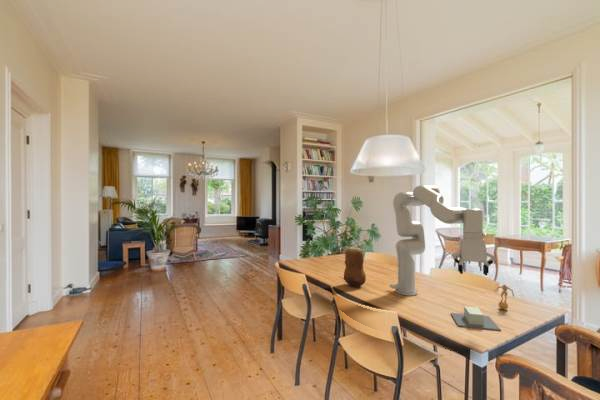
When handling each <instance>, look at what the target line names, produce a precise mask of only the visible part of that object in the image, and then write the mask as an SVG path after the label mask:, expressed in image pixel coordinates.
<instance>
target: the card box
mask: <svg viewBox="0 0 600 400" xmlns="http://www.w3.org/2000/svg"><path fill="white" fill-rule="evenodd" d="M463 314H464V316H465V318H466V319H467V321H468V322H469V324H475V325H484V316H485V315H484V313H483V312H482V311H481V310H480V308H479V307H477V306H467V305H464V307H463Z"/></svg>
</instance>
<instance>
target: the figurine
mask: <svg viewBox="0 0 600 400" xmlns="http://www.w3.org/2000/svg"><path fill="white" fill-rule="evenodd" d="M499 289H502V290H501V293H500V297H501V300H500V301H499V302H498V308H499V309H501V310H508V308H509V304H508V302H507V296H508V292H507V291H508V290H509V291H511V293H512V297H515V294H514V290H513V289H511V287H509V286H507V285H506V284H503V285H502V286H498V287H497V288H496V289H495V291H494V293H496V292H497V291H498V290H499ZM503 296H504V297H503ZM504 299H505V300H504Z"/></svg>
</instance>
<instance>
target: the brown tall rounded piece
mask: <svg viewBox="0 0 600 400" xmlns="http://www.w3.org/2000/svg"><path fill="white" fill-rule="evenodd" d="M344 256H345V257H344V259H345V260H344V265H345V268H344V271H343V280H344V281H345V283H346V284H347V285H349V286H353V287H354V288H359V287H360V286H363V285H364V284H365V283H366V280H367V278H366V277H367V276H366V271H365V270H364V260H365V259H364V252H363V249H362V248H360V247H354V246H350V247H348V248H346V249H345V255H344Z"/></svg>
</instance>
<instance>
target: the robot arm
mask: <svg viewBox="0 0 600 400" xmlns="http://www.w3.org/2000/svg"><path fill="white" fill-rule="evenodd" d="M393 197H394V198H393V201H392V204H393V210H394V213H395V222H396V223H395V224H396V225H395V226H396V230H397V231H396V232H397V233H396V234H397V235H398V236H399V237H402V238H405V239H400V240H398V241H397V242H396V244H395V251H396V257H397V282H396V283H395V284H392V283H390V284H389V287H390V288H392V289H395V293H397V294H398V295H402V296H417V295H418V294H419V292H418V290H417V289H416V266H415V263H416V262H415V260H414V258H413V256H415V255H422V254H423V253H424V252H425V250H426V241H425V240H426V239H425V230H424V226H423V223H421V222H420V221H417V220H412V217H411V216H412V215H411V213H410V210H409V208H407V207H421V206H423V205H425V206H427V207H428V208H429V210H430V213H431V214H432V216H433V217H434V218H436V219H437V220H438V221H441V223H444V224H448V225H454V224H459V225H460V224H462V235H463V237H461V238H460V242H459V251H456V252H454V253H450V254H451V255H450V256H451V257H452V259H453V261H455V262H456V263H457V271H458V272H459V274H461V275H462V274H463V273H464V271H463V269H464V266H463V264H464V263H465V262H475V263H483V265H482V272H483V275H485V276H488V274H489V267H490V266H491V265H492V264H493V263H494V261H495V260H496V256H495V255H494V254H491V253H489V252H487V246H486V241H485V240H486V239H484V238H485V237H487V236H488V235H487V233H484V231H483V230H484V228H483V227H484V224H483V223H484V222H483V221H484V219H483V218H484V213H483V210H482V209H481V208H468V207H467V208H466V207H447V206H446V205H443V204H444V201H445V199H444V196H443V195H442V194H441V193H440V189H439V188H438V187H437V186H435V185H429V184H427V185H425V184H424V185H423V184H422V185H417V186H416V187H414V188H413V189H412V191H402V192H401V191H400V192H398V193H396V195H394V196H393ZM410 237H411V238H410ZM457 256H459V259H458V258H457ZM488 257H489V260H487V259H488Z"/></svg>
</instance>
